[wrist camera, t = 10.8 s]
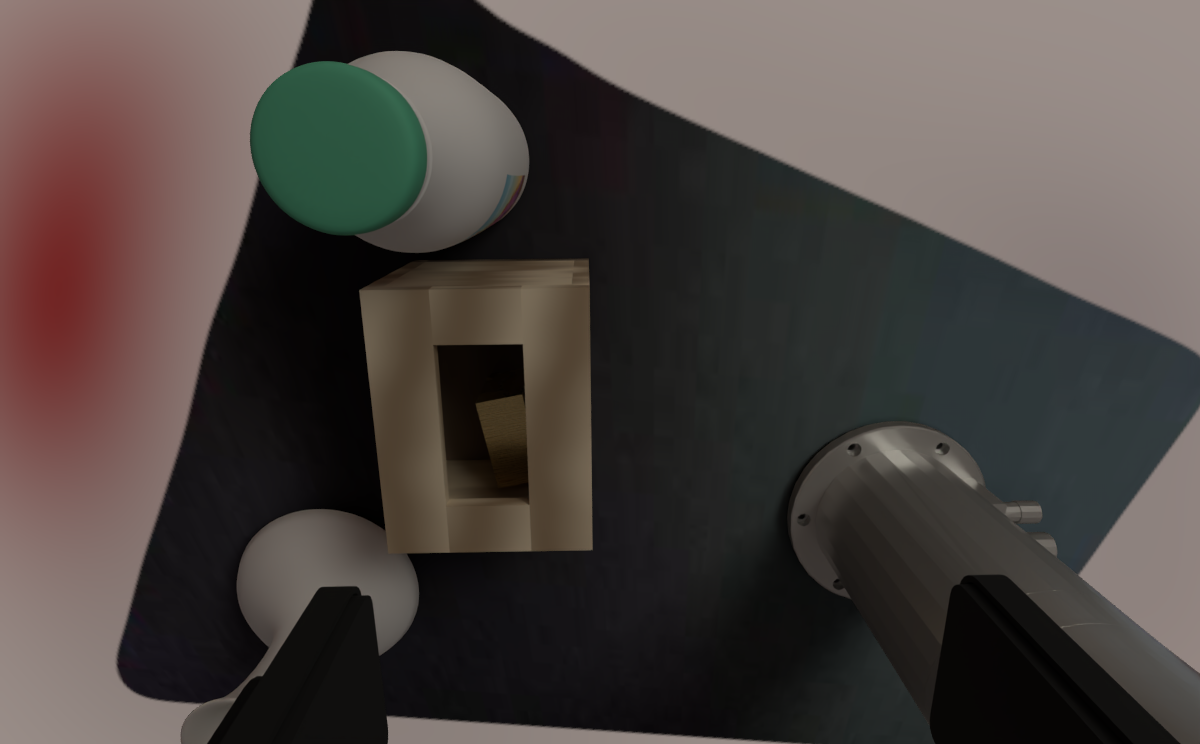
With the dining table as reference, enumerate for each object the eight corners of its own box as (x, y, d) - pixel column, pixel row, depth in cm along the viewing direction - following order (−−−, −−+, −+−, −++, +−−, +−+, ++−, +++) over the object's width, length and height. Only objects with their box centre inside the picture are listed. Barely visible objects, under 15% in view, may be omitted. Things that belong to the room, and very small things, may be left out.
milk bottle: (377, 92, 36) (146, 8, 17) (520, 77, 36) (448, -25, 17) (404, 237, 39) (226, 305, 19) (538, 223, 38) (493, 278, 19)
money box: (588, 258, 39) (589, 287, 30) (590, 464, 43) (592, 550, 33) (414, 260, 39) (359, 290, 29) (432, 467, 43) (388, 553, 33)
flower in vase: (282, 658, 47) (-36, 1176, 23) (225, 513, 43) (-218, 940, 19) (467, 626, 46) (341, 1119, 22) (423, 477, 43) (220, 866, 19)
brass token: (522, 394, 35) (543, 479, 37) (529, 367, 40) (547, 443, 42) (475, 403, 35) (498, 488, 37) (488, 375, 40) (508, 451, 42)
